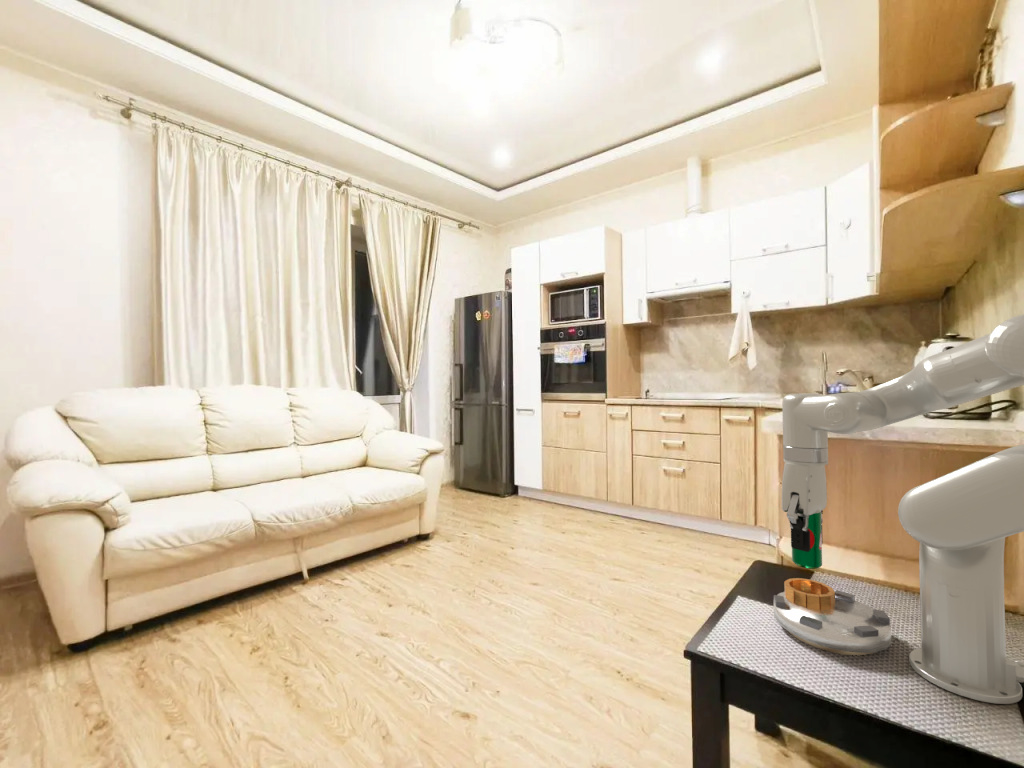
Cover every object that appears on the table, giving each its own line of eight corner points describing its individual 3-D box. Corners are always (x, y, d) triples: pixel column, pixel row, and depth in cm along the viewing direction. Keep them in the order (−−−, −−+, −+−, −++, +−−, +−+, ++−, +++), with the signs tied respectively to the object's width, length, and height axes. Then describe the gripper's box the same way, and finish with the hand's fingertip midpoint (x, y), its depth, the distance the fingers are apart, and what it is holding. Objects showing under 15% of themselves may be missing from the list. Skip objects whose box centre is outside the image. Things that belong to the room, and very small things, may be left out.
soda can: (827, 570, 87) (826, 508, 87) (799, 569, 88) (797, 508, 88) (814, 560, 92) (813, 501, 92) (787, 559, 93) (786, 501, 93)
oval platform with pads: (872, 611, 90) (871, 585, 90) (908, 662, 73) (907, 631, 73) (768, 596, 97) (768, 572, 97) (780, 639, 81) (779, 611, 81)
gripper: (802, 449, 98) (804, 532, 98) (765, 457, 88) (767, 550, 88) (843, 453, 92) (845, 542, 92) (808, 462, 82) (810, 562, 82)
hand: (806, 545), depth 90 cm, fingers closed on soda can, 5 cm apart
